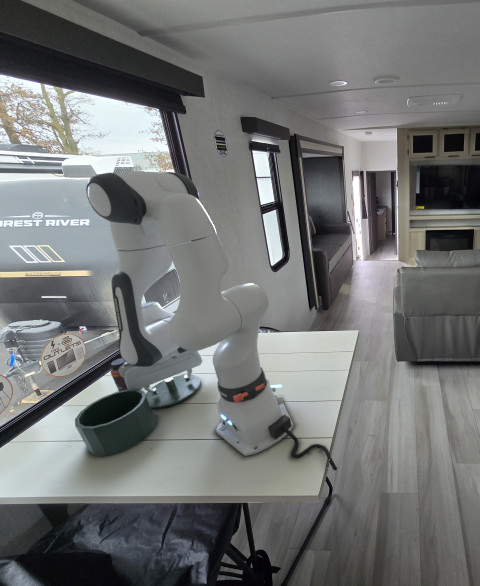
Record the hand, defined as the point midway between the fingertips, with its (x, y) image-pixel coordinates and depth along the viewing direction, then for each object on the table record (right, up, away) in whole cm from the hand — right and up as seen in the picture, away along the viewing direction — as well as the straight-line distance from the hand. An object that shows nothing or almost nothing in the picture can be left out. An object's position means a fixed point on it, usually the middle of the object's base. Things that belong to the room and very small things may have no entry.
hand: (172, 387), depth 102 cm
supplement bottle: (-16, -2, +3) cm, 17 cm away
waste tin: (-3, -9, -15) cm, 17 cm away
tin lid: (0, -1, +1) cm, 2 cm away
